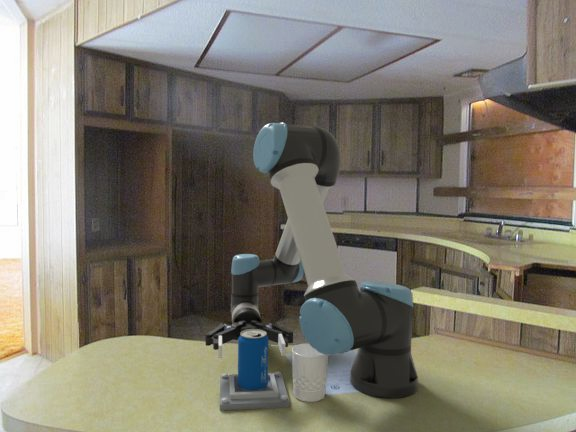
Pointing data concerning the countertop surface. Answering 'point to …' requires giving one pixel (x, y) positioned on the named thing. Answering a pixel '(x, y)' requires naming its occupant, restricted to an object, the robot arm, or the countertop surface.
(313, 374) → the white cup
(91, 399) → the countertop surface
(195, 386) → the countertop surface
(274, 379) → the socket plate
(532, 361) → the countertop surface
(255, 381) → the beverage can
